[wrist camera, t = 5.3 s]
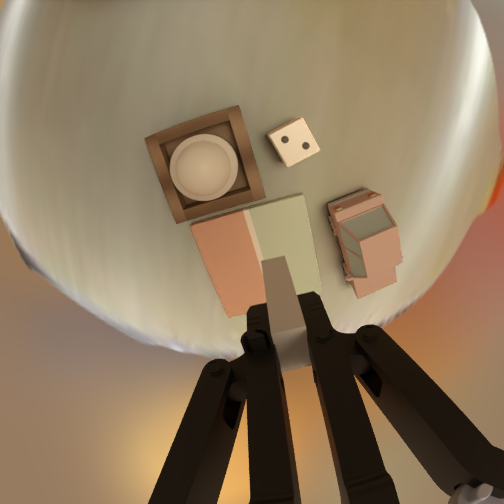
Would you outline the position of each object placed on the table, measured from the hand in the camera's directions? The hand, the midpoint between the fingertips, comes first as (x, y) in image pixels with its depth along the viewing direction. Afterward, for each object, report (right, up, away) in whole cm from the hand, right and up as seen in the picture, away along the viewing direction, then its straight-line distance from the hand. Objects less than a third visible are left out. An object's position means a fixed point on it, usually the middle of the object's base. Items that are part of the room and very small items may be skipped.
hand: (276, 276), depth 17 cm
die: (+3, +16, +16) cm, 23 cm away
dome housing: (-7, +13, +17) cm, 23 cm away
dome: (-7, +13, +16) cm, 22 cm away
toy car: (+15, +4, +23) cm, 27 cm away
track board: (0, 0, +24) cm, 24 cm away
